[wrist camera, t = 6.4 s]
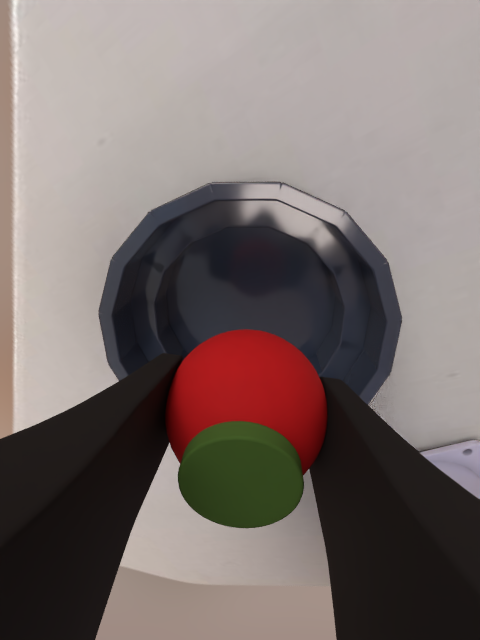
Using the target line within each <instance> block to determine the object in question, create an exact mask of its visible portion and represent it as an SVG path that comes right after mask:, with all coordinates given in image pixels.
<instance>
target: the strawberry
mask: <svg viewBox="0 0 480 640" xmlns="http://www.w3.org/2000/svg"><path fill="white" fill-rule="evenodd" d="M327 418H328V415H327V400H326V395H325V391H324V388H323V385H322V382H321V380H320V378H319V376H318V374H317V371H316V370H315V368H314V367H313V365H312V364H311V362H310V361H309V360H308V359H307V358H306V356H305V355H304V354H303V353H302V352H301V351H300V350H298V349H297V348H296V347H295V346H294V345H292V344H291V343H289V342H288V341H286V340H285V339H283V338H281V337H278V336H276V335H274V334H271V333H268V332H264V331H259V330H249V329H244V330H233V331H228V332H224V333H221V334H218V335H216V336H214V337H211V338H209V339H208V340H206V341H204V342H203V343H201V344H200V345H198V346H197V347H196V348H195V349H193V350H192V351H191V352H190V353H189V354H188V355H187V357H186V358H185V359H184V360H183V361H182V363H181V364H180V366H179V367H178V369H177V370H176V372H175V375H174V377H173V380H172V383H171V386H170V390H169V393H168V398H167V403H166V411H165V424H166V430H167V435H168V439H169V442H170V445H171V447H172V450H173V452H174V453H175V455H176V457H177V459H178V461H179V463H180V467H179V471H178V483H179V489H180V491H181V494H182V496H183V498H184V499H185V501H186V502H187V503H188V505H189V506H190V507H191V508H192V509H193V510H195V511H196V512H197V513H198V514H200V515H201V516H203V517H204V518H206V519H208V520H210V521H213V522H215V523H218V524H221V525H225V526H229V527H236V528H256V527H262V526H266V525H270V524H273V523H275V522H277V521H279V520H281V519H283V518H285V517H286V516H288V515H289V514H290V513H291V512H292V511H293V510H294V509H295V508H296V507H297V505H298V503H299V502H300V499H301V497H302V494H303V489H304V480H303V475H304V474H305V473H306V472H307V471H308V469H309V468H310V467H311V465H312V464H313V463H314V461H315V459H316V458H317V456H318V454H319V452H320V450H321V447H322V445H323V442H324V438H325V434H326V428H327Z"/></svg>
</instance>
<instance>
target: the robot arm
mask: <svg viewBox="0 0 480 640" xmlns="http://www.w3.org/2000/svg"><path fill="white" fill-rule="evenodd" d="M182 360H183V356H181V355H174V354H167V353H162V354H160V355H159V356H157V357H156V358H154V359H153V360H151V361H150V362H148V363H147V364H145V365H144V366H142V367H141V368H139V369H138V370H136V371H134V372H133V373H131V374H130V375H128V376H127V377H125V378H123V379H122V380H120V381H119V382H117V383H116V384H114V385H112V386H110V387H109V388H107V389H105V390H103V391H102V392H100V393H98V394H96V395H95V396H93V397H91V398H89V399H88V400H86V401H84V402H82V403H80V404H78V405H76V406H75V407H73V408H71V409H69V410H67V411H65V412H62V413H60V414H58V415H56V416H54V417H52V418H50V419H47V420H45V421H43V422H41V423H39V424H36V425H34V426H32V427H29V428H27V429H24V430H22V431H19V432H17V433H14V434H12V435H10V436H7V437H4V438H2V439H0V640H95V638H96V635H97V632H98V628H99V625H100V622H101V619H102V616H103V613H104V610H105V607H106V604H107V601H108V598H109V595H110V592H111V589H112V586H113V583H114V580H115V577H116V574H117V571H118V568H119V565H120V562H121V559H122V556H123V553H124V550H125V547H126V544H127V541H128V539H129V536H130V533H131V530H132V528H133V525H134V523H135V520H136V517H137V515H138V513H139V510H140V508H141V506H142V504H143V501H144V499H145V497H146V494H147V492H148V490H149V488H150V485H151V483H152V481H153V479H154V476H155V474H156V472H157V470H158V467H159V465H160V463H161V460H162V458H163V456H164V453H165V451H166V449H167V447H168V444H169V439H168V435H167V430H166V424H165V411H166V403H167V398H168V393H169V390H170V386H171V383H172V380H173V377H174V375H175V372H176V370H177V369H178V367H179V366H180V364H181V363H182ZM320 380H321V382H322V385H323V388H324V391H325V395H326V400H327V415H328V418H327V428H326V434H325V438H324V442H323V445H322V447H321V450H320V452H319V454H318V456H317V458H316V459H315V461H314V463H313V464H312V465H311V467H310V468H309V469H310V474H311V479H312V484H313V489H314V494H315V498H316V503H317V508H318V513H319V518H320V522H321V527H322V532H323V537H324V542H325V547H326V553H327V559H328V566H329V574H330V583H331V591H332V600H333V608H334V617H335V628H336V637H337V640H480V441H478V440H470V441H466V442H461V443H457V444H453V445H449V446H444V447H440V448H436V449H431V450H427V451H423V452H418V451H417V450H416V449H415V448H414V447H412V446H411V445H410V444H409V443H408V442H407V441H406V440H404V439H403V438H402V437H401V436H400V435H399V434H398V433H397V432H396V431H394V430H393V429H392V428H391V427H390V426H389V425H388V424H387V423H386V422H385V421H384V420H383V419H382V418H381V417H380V416H378V415H377V414H376V413H375V412H374V411H373V410H372V409H371V408H370V407H369V406H368V405H367V404H366V403H365V402H364V401H363V400H362V399H361V398H360V397H359V396H358V395H357V394H356V393H355V392H354V391H353V390H352V389H351V388H350V387H349V386H348V385H347V384H345V383H344V382H343V381H342V380H341V379H335V378H328V377H321V376H320ZM466 449H467V450H466ZM464 450H465V451H464Z"/></svg>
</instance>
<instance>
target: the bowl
mask: <svg viewBox="0 0 480 640" xmlns="http://www.w3.org/2000/svg"><path fill="white" fill-rule="evenodd" d="M99 319H100V325H101V330H102V335H103V340H104V345H105V351H106V356H107V361H108V363H109V366H110V368H111V369H112V371H113V372H114V374H115V375H116V377H117V379H118V380H119V381H120V380H122V379H123V378H125V377H127V376H128V375H130V374H131V373H133V372H134V371H136V370H138V369H139V368H141V367H142V366H144V365H145V364H147V363H148V362H150V361H151V360H153V359H154V358H156V357H157V356H159V355H160V354H162V353H167V354H174V355H181V356H183V360H184V359H185V358H186V357H187V355H188V354H189V353H190V352H191V351H192V350H193V349H195V348H196V347H197V346H198V345H200V344H201V343H203V342H204V341H206V340H208V339H209V338H211V337H214V336H216V335H218V334H221V333H224V332H228V331H233V330H244V329H249V330H259V331H264V332H268V333H271V334H274V335H276V336H278V337H281V338H283V339H285V340H286V341H288V342H289V343H291V344H292V345H294V346H295V347H296V348H297V349H298V350H300V351H301V352H302V353H303V354H304V355H305V356H306V358H307V359H308V360H309V361H310V362H311V364H312V365H313V367H314V368H315V370H316V371H317V374H318V376H319V378H320V376H321V377H328V378H335V379H341V380H342V381H343V382H344V383H345V384H347V385H348V386H349V387H350V388H351V389H352V390H353V391H354V392H355V393H356V394H357V395H358V396H359V397H360V398H361V399H362V400H363V401H364V402H365V403H366V404H367V405H368V404H369V403H370V401H371V400H372V398H373V397H374V396H375V394H376V393H377V392H378V390H379V389H380V387H381V386H382V385H383V383H384V382H385V380H386V379H387V378H388V376H389V375H390V372H391V370H392V365H393V361H394V356H395V351H396V347H397V342H398V337H399V332H400V328H401V323H402V316H401V312H400V307H399V303H398V299H397V295H396V291H395V287H394V283H393V279H392V275H391V271H390V267H389V263H388V262H387V259H386V258H385V257H384V256H383V254H382V253H381V252H380V251H379V250H378V248H377V247H376V246H375V245H374V244H373V243H372V241H371V240H370V239H369V238H368V237H367V235H366V234H365V233H364V232H363V231H362V229H361V228H360V227H359V226H358V225H357V224H356V222H355V221H354V220H353V219H352V218H351V216H350V215H349V214H348V213H347V212H345V210H343V209H341V208H338V207H336V206H334V205H332V204H330V203H327V202H325V201H323V200H321V199H319V198H316V197H314V196H312V195H310V194H308V193H305V192H303V191H301V190H299V189H297V188H294V187H292V186H290V185H288V184H286V183H281V182H212V183H208V184H206V185H204V186H202V187H199V188H197V189H195V190H193V191H191V192H189V193H187V194H185V195H182V196H180V197H178V198H176V199H174V200H172V201H170V202H168V203H165V204H163V205H161V206H159V207H157V208H155V209H153V210H151V212H148V214H147V215H146V216H145V217H144V219H143V220H142V221H141V222H140V224H139V225H138V226H137V227H136V228H135V230H134V231H133V232H132V233H131V235H130V236H129V237H128V238H127V239H126V241H125V242H124V243H123V244H122V246H121V247H120V248H119V249H118V250H117V252H116V253H115V254H114V255H113V257H112V259H111V261H110V265H109V270H108V274H107V278H106V282H105V286H104V290H103V295H102V299H101V303H100V307H99ZM183 360H182V361H183Z"/></svg>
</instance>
